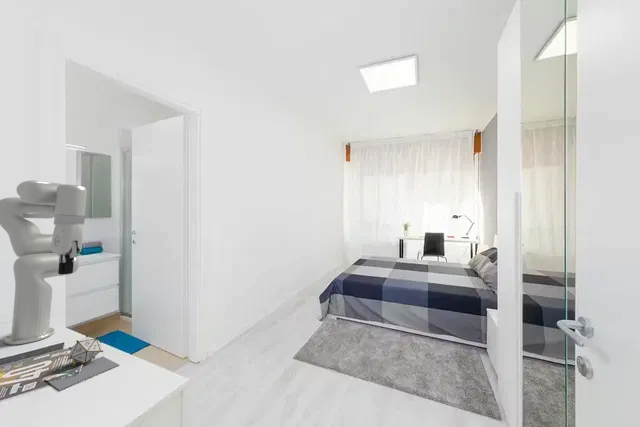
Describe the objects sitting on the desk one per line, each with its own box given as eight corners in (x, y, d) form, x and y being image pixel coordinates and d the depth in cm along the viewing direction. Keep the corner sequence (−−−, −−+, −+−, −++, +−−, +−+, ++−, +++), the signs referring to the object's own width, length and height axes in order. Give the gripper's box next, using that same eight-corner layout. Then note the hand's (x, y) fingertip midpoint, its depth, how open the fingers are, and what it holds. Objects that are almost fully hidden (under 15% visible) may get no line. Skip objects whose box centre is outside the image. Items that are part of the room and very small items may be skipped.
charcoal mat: (43, 379, 72) (43, 378, 72) (102, 357, 85) (102, 356, 85) (59, 391, 68) (59, 389, 68) (119, 365, 80) (119, 364, 81)
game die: (72, 356, 84) (106, 359, 86) (52, 369, 76) (90, 372, 78) (81, 328, 85) (115, 332, 88) (63, 338, 77) (100, 342, 79)
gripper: (45, 219, 87) (40, 272, 87) (65, 221, 81) (60, 278, 80) (73, 220, 94) (69, 269, 93) (94, 221, 88) (90, 274, 87)
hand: (65, 273), depth 87 cm, fingers closed
